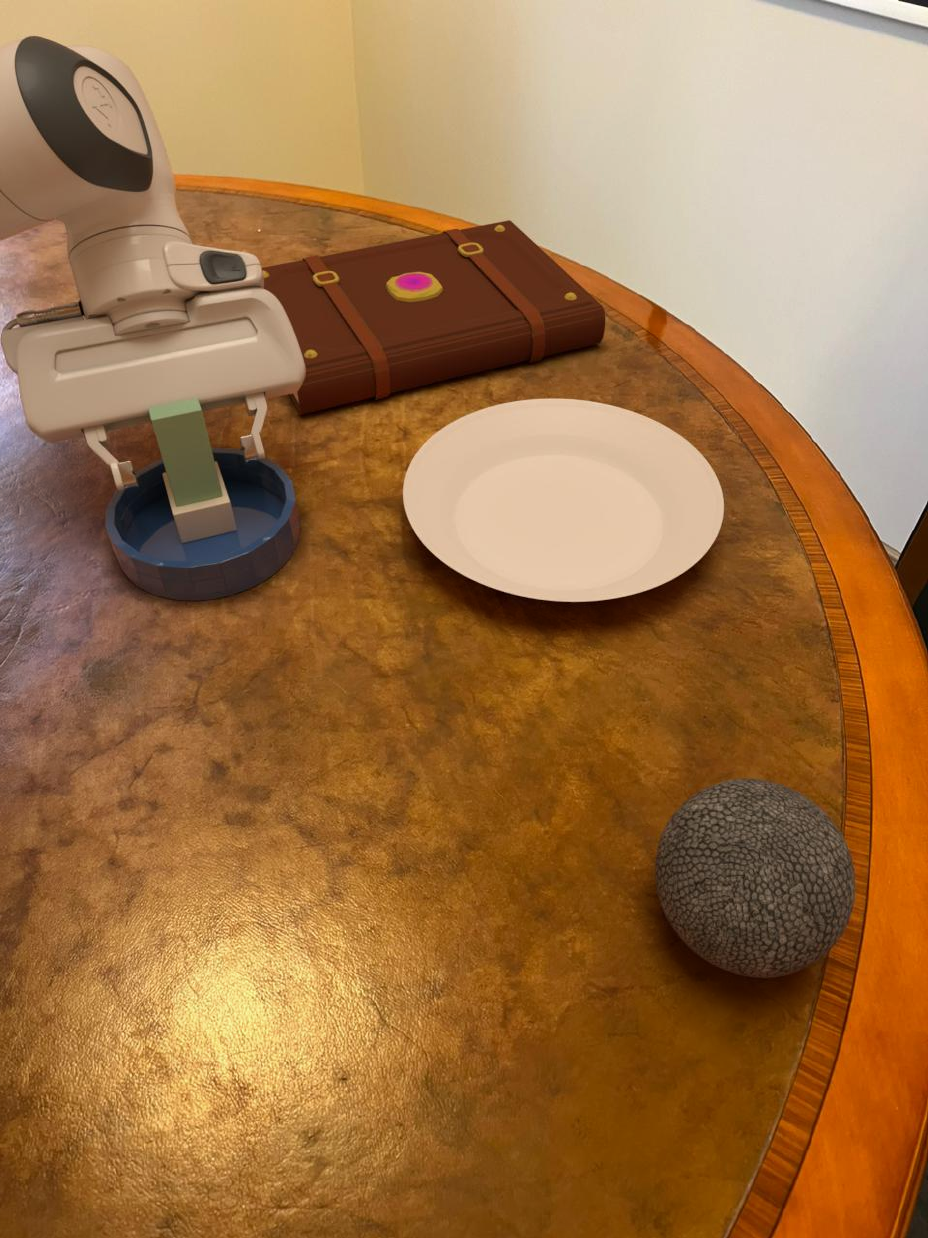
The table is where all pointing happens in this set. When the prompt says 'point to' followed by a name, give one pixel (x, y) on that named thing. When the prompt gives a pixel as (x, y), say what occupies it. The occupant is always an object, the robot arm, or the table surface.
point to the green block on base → (191, 472)
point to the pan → (212, 562)
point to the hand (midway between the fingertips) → (193, 474)
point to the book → (428, 312)
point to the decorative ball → (755, 878)
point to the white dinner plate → (563, 500)
